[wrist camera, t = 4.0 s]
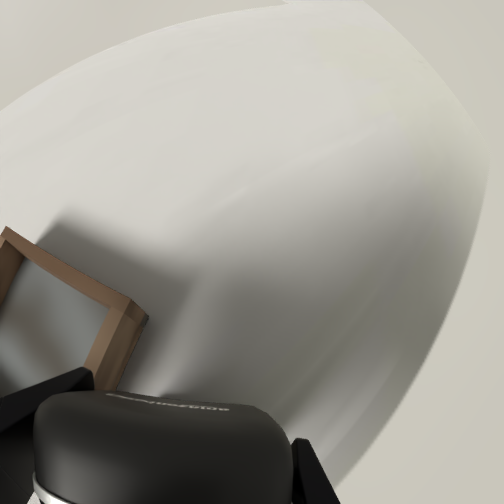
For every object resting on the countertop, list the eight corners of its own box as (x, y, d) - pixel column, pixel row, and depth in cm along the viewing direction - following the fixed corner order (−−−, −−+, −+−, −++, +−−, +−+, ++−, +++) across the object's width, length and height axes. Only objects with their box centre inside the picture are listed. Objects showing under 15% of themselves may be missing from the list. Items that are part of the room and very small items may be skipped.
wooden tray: (83, 472, 12) (55, 485, 8) (-25, 375, 13) (-55, 367, 10) (149, 316, 17) (130, 298, 13) (30, 248, 18) (6, 225, 15)
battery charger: (262, 397, 15) (321, 417, 5) (260, 459, 13) (310, 568, 3) (139, 387, 15) (2, 370, 4) (137, 448, 13) (11, 507, 3)
